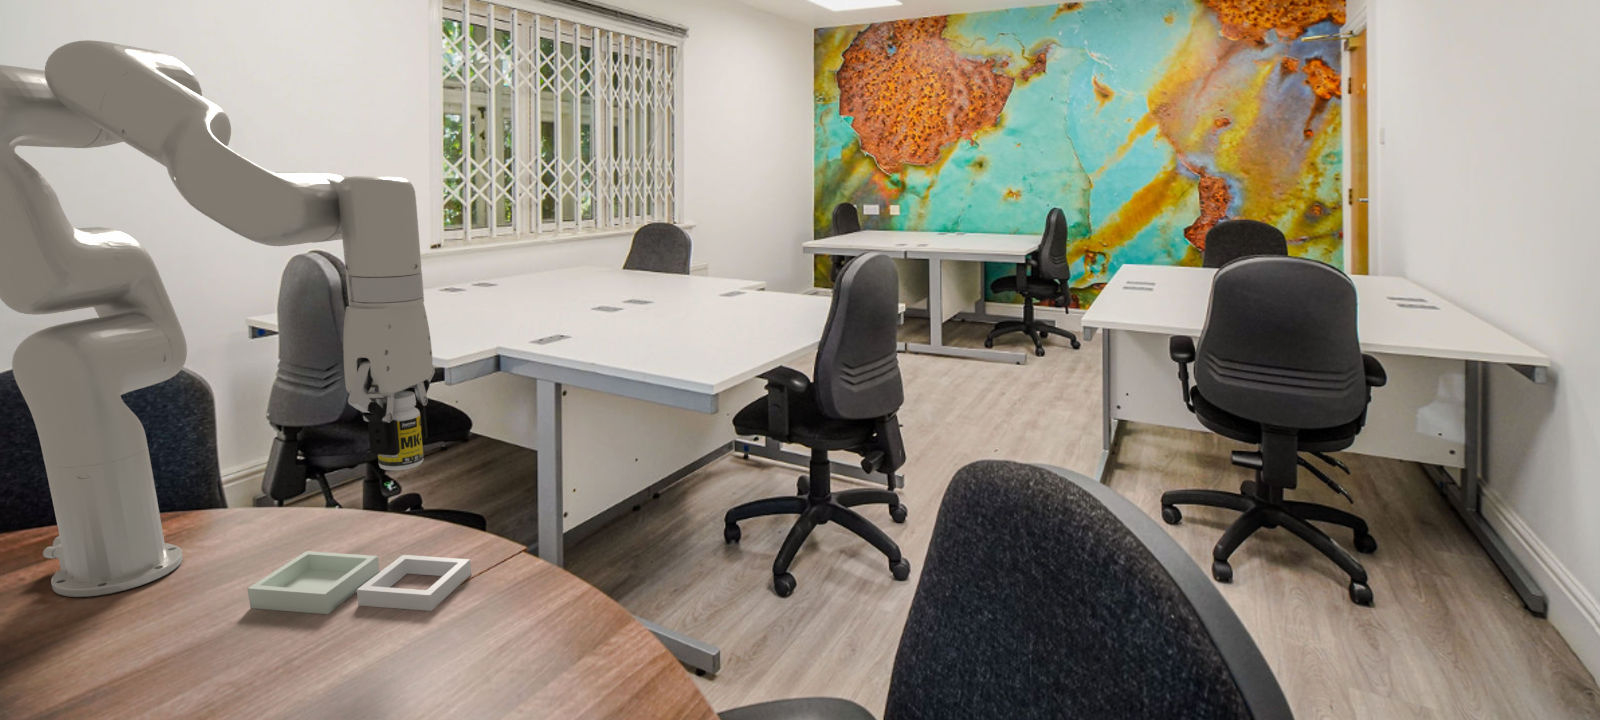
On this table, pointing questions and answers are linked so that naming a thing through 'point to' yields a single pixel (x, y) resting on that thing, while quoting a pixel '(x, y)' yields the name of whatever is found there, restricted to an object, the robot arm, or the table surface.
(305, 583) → the tray
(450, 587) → the collar holder
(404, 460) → the supplement bottle
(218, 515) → the table surface
